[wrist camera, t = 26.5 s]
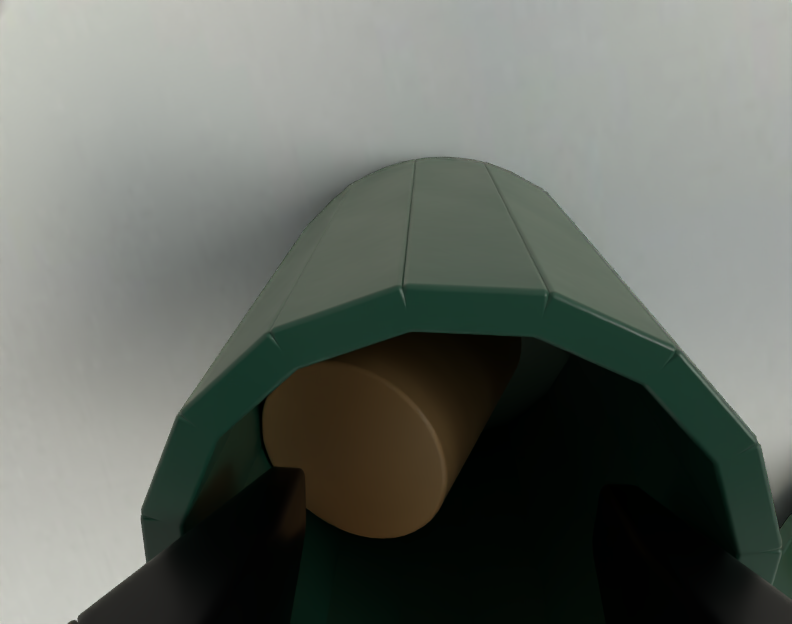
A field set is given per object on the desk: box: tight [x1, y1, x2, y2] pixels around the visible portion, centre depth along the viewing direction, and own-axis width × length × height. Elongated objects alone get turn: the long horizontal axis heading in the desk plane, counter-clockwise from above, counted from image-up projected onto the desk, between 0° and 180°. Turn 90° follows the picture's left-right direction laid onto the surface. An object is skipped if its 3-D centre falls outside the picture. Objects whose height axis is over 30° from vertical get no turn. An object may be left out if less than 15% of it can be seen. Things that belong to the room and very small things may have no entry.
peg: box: [261, 332, 522, 539], centre depth 12 cm, size 3×3×4 cm
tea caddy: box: [141, 157, 782, 624], centre depth 11 cm, size 7×7×8 cm
